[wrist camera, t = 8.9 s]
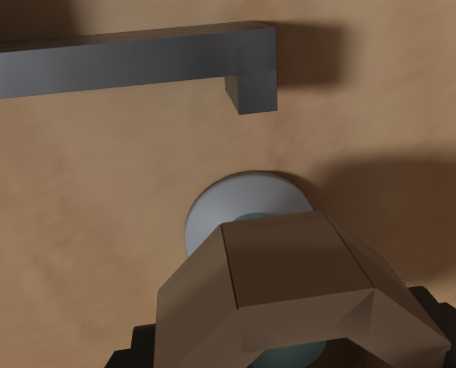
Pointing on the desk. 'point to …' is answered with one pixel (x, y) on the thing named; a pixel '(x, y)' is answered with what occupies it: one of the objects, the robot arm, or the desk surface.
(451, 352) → the robot arm
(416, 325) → the walnut ring
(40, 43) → the bent rail
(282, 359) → the teal flanged peg
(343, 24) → the desk surface
